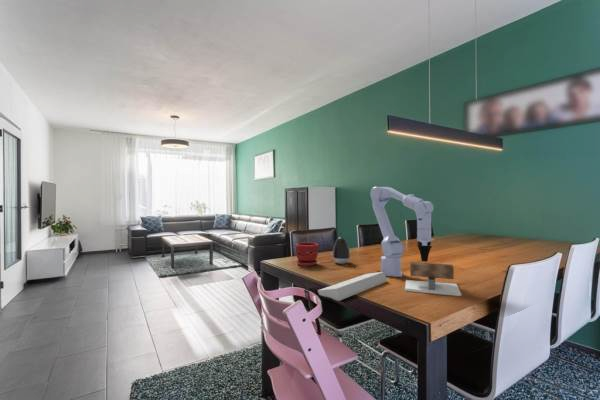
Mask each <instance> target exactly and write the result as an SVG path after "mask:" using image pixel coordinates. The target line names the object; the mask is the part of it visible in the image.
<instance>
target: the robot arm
mask: <svg viewBox="0 0 600 400" xmlns="http://www.w3.org/2000/svg"><path fill="white" fill-rule="evenodd" d="M369 196H370V198H371V204H372V205H371V206H372V208H373V212H374V215H375V218H376V221H377V223H378V226H379V228H380V232H381V234H382V235H381V236H382V238H383V239H382V241H381V242H380V243H381V252H382V254H383V255H381V256H380V272H385V276H386V277H396V278H397V277H399V278H402V277H403V272H402V256H403V254H404V252H405V246H404V244H403V243H402V242H401V240H400V238H399V236H396V235H395V233H394V230H393V226H392V225H391V222H390V219H389V216H388V214H387V211H386V208H385V206H386V204H387V203H388V202H389V200H390V199H391V198H392V199H395V200H397V201H400V202H402V205H403V206H404V207H407V208H408V209H410V210H412V211H414V213H415V215H416V216H415V217H416V229H417V230H416V235H417V236H416V241H417V242H416V243H417V245H416V246H417V248H418V251H419V254H420V259H421V262H423V263H427V262H428V260H429V255H430V251H431V250H432V247H433V246H432V245H431V243H432V242H434V241H435V239H434V238H432V213H433V212H434V210H435V206H434V204H433V202H431V201H429V200H425V201H424V199H423V198H418V197H416V196H415V194H413V193H410V194H404V193H402V192H400V191H398V190H397V189H395V188H393V187H390V186H374V187H372V188H371V191H370V194H369Z"/></svg>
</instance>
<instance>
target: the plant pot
mask: <svg viewBox="0 0 600 400" xmlns="http://www.w3.org/2000/svg"><path fill="white" fill-rule="evenodd" d="M295 255H296V258H297V261H296V263H297V264H298V265H299V266H302V267H307V266H308V267H311V266H315V265H316V264H317V263H318V261H317V258H318V255H319V244H318V243H316V242H298V243H295Z"/></svg>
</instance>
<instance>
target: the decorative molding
mask: <svg viewBox="0 0 600 400" xmlns="http://www.w3.org/2000/svg"><path fill="white" fill-rule="evenodd" d="M384 283H387V276H385V272H381V271H380V272H371V273H370V272H369V273H364V274H362V275H358V276H355V277H353V278H351V279H347V280H344V281H341V282H338V283H336V284H333V285H330V286H327V287H324V288H321V289H318V290H317V292H318V295H319V296H322V297H325V298H331V299H332V300H334V301H337V302H338V301H339V302H340V301H342V300H344V299H347V298H349V297H352V296H354V295H357V294H360V293H362V292H364V291H367V290H369V289H372V288H375V287H378V286H379V285H381V284H384Z"/></svg>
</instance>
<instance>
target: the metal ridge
mask: <svg viewBox="0 0 600 400" xmlns="http://www.w3.org/2000/svg"><path fill="white" fill-rule="evenodd" d="M427 282H428V288H429V290H435V282H436V278H430V277H427Z"/></svg>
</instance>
